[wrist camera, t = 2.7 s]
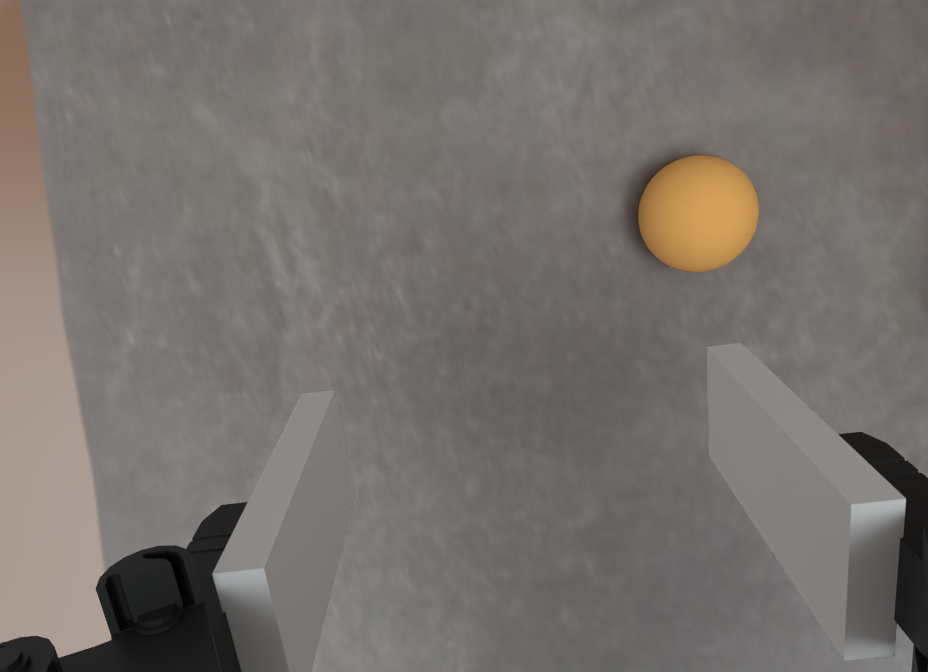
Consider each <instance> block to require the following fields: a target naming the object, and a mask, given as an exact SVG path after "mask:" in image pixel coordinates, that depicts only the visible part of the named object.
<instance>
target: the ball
mask: <svg viewBox="0 0 928 672" xmlns="http://www.w3.org/2000/svg"><path fill="white" fill-rule="evenodd" d="M758 217H759V206H758V199H757V195H756V192H755V189H754V187H753V185H752V183H751V182H750V180H749V179H748V178H747V176H746V175H745V174H744V173H743V172H742V171H741V170H740V169H739V168H738V167H736V166H735V165H733V164H732V163H730V162H728V161H726V160H724V159H721V158H718V157H714V156H706V155H695V156H689V157H685V158H681V159H678V160H676V161H674V162H672V163H670V164H668V165H667V166H665V167H664V168H662V169H661V170H660V171H659V172H658V173H657V174H656V175H655V176H654V177H653V178H652V179H651V181H650V182H649V183H648V185H647V186H646V188H645V190H644V192H643V195H642V197H641V200H640V204H639V211H638V220H639V228H640V232H641V235H642V238H643V240H644V242H645V244H646V245H647V247H648V248H649V250H650V251H651V252H652V253H653V254H654V255H655V256H656V257H657V258H658V259H659V260H661V261H662V262H663V263H665V264H667V265H669V266H671V267H673V268H676V269H679V270H683V271H689V272H703V271H709V270H713V269H716V268H719V267H721V266H723V265H726V264H727V263H729V262H731V261H732V260H733V259H735V258H736V257H737V256H738V255H739V254H740V253H742V252H743V250H744V249H745V248H746V247H747V245H748V244H749V242H750V241H751V239H752V237H753V235H754V233H755V230H756V227H757V223H758Z"/></svg>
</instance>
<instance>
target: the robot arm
mask: <svg viewBox="0 0 928 672" xmlns="http://www.w3.org/2000/svg"><path fill="white" fill-rule="evenodd" d="M707 385H708V434H709V457H710V459H711V460H712V462H713V463H714V465H715V466H716V468H717V469H718V471H719V472H720V474H721V475H722V477H723V478H724V480H725V481H726V483H727V484H728V486H729V487H730V489H731V491H732V492H733V494H734V495H735V497H736V498H737V500H738V501H739V503H740V504H741V506H742V507H743V509H744V510H745V512H746V513H747V515H748V516H749V518H750V519H751V521H752V522H753V524H754V525H755V527H756V528H757V530H758V532H759V533H760V535H761V536H762V538H763V539H764V541H765V542H766V544H767V545H768V547H769V548H770V550H771V551H772V553H773V554H774V556H775V557H776V559H777V560H778V562H779V563H780V565H781V566H782V568H783V570H784V571H785V573H786V574H787V576H788V577H789V579H790V580H791V582H792V583H793V585H794V586H795V588H796V589H797V591H798V592H799V594H800V595H801V597H802V598H803V600H804V601H805V603H806V604H807V606H808V607H809V609H810V611H811V612H812V614H813V615H814V617H815V618H816V620H817V621H818V623H819V624H820V626H821V627H822V629H823V630H824V632H825V633H826V635H827V636H828V638H829V639H830V641H831V642H832V644H833V645H834V647H835V649H836V650H837V652H838V653H839V655H840V656H841V658H842V659H843V661H849V660H859V659H869V658H879V657H888V656H894V654H895V641H896V627H897V624H898V625H899V626H900V627H901V629H902V630H903V631H904V632H905V634H906V635H907V636H908V637H909V639H910V640H911V641H912V642H913V644H914V648H913V660H912V672H928V478H927V477H926V476H925V475H923V474H922V473H919V472H918V469H916V468H915V467H914V466H913V465H912V464H911V463H909V462H908V461H905V460H904V457H902V456H901V455H900V454H899V453H898V452H897V451H895V450H894V449H893V448H892V447H891V446H890V445H888V444H887V443H885V442H883V441H881V440H878V439H876V438H874V437H871V436H869V435H867V434H865V433H862V432H855V433H846V434H837V433H836V432H835V431H834V430H833V429H832V428H831V427H830V426H829V425H828V424H827V423H825V422H824V421H823V420H822V419H821V418H820V417H819V416H818V415H817V414H816V413H815V412H814V411H813V410H812V409H811V408H810V407H809V406H807V405H806V404H805V403H804V402H803V401H802V400H801V399H800V398H799V397H798V396H797V395H796V394H795V393H794V392H793V391H792V390H791V389H789V388H788V387H787V386H786V385H785V384H784V383H783V382H782V381H781V380H780V379H779V378H778V377H777V376H776V375H775V374H774V373H773V372H771V371H770V370H769V369H768V368H767V367H766V366H765V365H764V364H763V363H762V362H761V361H760V360H759V359H758V358H757V357H756V356H755V355H753V354H752V353H751V352H750V351H749V350H748V349H747V348H746V347H745V346H744V345H743V344H742V343H735V344H727V345H718V346H709V347H707ZM354 497H355V494H354V488H353V483H352V478H351V473H350V468H349V462H348V457H347V452H346V447H345V441H344V436H343V431H342V426H341V421H340V415H339V410H338V405H337V400H336V395H335V390H330V391H321V392H312V393H304V394H301V396H300V398H299V400H298V402H297V404H296V406H295V408H294V410H293V412H292V414H291V416H290V418H289V420H288V422H287V424H286V426H285V428H284V430H283V432H282V434H281V436H280V438H279V440H278V442H277V444H276V446H275V448H274V450H273V452H272V454H271V456H270V458H269V460H268V462H267V464H266V466H265V468H264V470H263V472H262V474H261V476H260V478H259V480H258V482H257V484H256V486H255V489H254V491H253V493H252V495H251V497H250V499H249V501H248V502H245V503H236V504H227V505H221V506H220V507H219V508H217V509H216V510H215V511H214V512H213V513H211V514H210V515H209V516H208V517H207V518H205V519H204V520H203V521H202V522H201V524H200V526H199V528H198V529H197V531H196V533H195V535H194V536H193V538H192V542H190V543H189V545H188V547H187V548H186V549H184V548H181V547H178V546H157V547H152V548H148V549H144V550H141V551H138V552H136V553H134V554H131V555H129V556H127V557H124V558H123V559H121V560H120V561H118V562H117V563H115V564H114V565H112V566H111V567H109V568H108V570H107V571H106V572H105V573H104V574H103V575H102V576H101V577H100V578H99V581H98V584H97V586H96V591H97V594H98V597H99V600H100V603H101V606H102V609H103V612H104V615H105V618H106V621H107V624H108V627H109V630H110V633H111V638H112V640H111V641H108V642H106V643H103V644H100V645H98V646H95V647H92V648H89V649H86V650H82V651H79V652H76V653H73V654H70V655H67V656H64V657H61V658H58V656H57V653H56V650H55V647H54V646H53V644H52V643H51V642H50V640H49V639H47V638H42V637H39V636H30V637H21V638H17V639H14V640H10V641H8V642H3V643H0V672H311V671H312V667H313V663H314V659H315V654H316V650H317V646H318V642H319V638H320V634H321V630H322V626H323V622H324V618H325V614H326V610H327V606H328V602H329V598H330V594H331V590H332V586H333V582H334V578H335V574H336V570H337V566H338V562H339V558H340V554H341V550H342V546H343V541H344V537H345V533H346V529H347V525H348V521H349V517H350V513H351V509H352V505H353V501H354Z"/></svg>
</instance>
